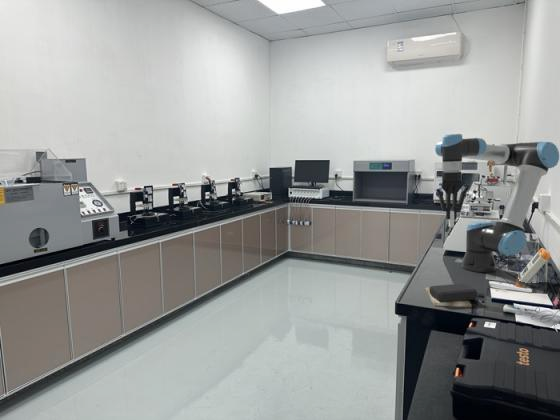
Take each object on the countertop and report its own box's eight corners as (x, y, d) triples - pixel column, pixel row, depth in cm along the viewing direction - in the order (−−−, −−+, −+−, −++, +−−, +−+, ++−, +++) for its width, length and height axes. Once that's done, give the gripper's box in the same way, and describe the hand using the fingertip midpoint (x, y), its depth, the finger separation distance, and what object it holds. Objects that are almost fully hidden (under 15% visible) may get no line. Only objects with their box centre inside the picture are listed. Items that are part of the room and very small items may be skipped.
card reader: (464, 292, 156) (428, 295, 154) (464, 282, 155) (428, 285, 154) (478, 300, 146) (440, 303, 145) (478, 290, 146) (440, 293, 145)
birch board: (458, 290, 161) (458, 288, 160) (471, 307, 143) (471, 304, 143) (425, 289, 163) (425, 287, 163) (434, 305, 145) (434, 303, 145)
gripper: (437, 172, 160) (437, 228, 163) (471, 171, 158) (470, 228, 161) (433, 171, 167) (433, 225, 170) (465, 170, 165) (464, 224, 168)
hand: (451, 226), depth 166 cm, fingers closed
